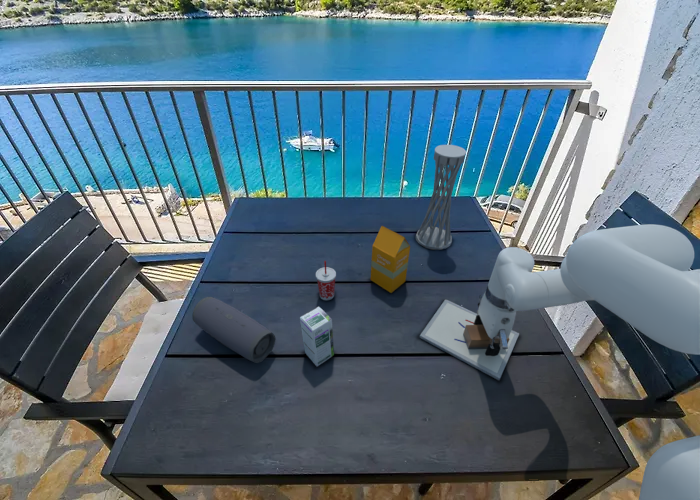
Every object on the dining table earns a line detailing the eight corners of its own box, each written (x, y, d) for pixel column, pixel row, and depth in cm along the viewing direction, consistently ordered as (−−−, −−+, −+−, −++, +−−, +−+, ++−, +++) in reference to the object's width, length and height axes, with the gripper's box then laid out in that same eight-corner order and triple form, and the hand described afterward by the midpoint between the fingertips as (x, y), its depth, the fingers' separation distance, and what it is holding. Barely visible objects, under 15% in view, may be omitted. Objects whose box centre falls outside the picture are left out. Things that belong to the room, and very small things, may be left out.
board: (518, 335, 97) (519, 333, 96) (498, 380, 86) (500, 378, 86) (444, 301, 107) (445, 299, 107) (419, 337, 96) (419, 335, 96)
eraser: (505, 348, 93) (509, 339, 90) (468, 349, 92) (471, 340, 90) (498, 333, 96) (502, 324, 94) (462, 334, 96) (465, 324, 94)
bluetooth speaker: (279, 347, 94) (274, 323, 88) (254, 373, 88) (247, 349, 82) (222, 312, 104) (214, 288, 97) (196, 333, 97) (185, 309, 91)
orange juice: (391, 293, 110) (396, 243, 97) (370, 280, 115) (372, 230, 102) (405, 281, 114) (413, 231, 102) (385, 268, 119) (389, 219, 107)
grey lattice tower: (449, 252, 126) (471, 161, 104) (413, 245, 129) (426, 156, 107) (453, 232, 136) (473, 145, 114) (418, 226, 139) (432, 140, 117)
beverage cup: (313, 298, 108) (310, 264, 99) (323, 285, 112) (320, 252, 104) (331, 304, 106) (329, 270, 97) (340, 291, 110) (339, 257, 102)
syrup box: (316, 367, 89) (313, 331, 80) (303, 352, 93) (299, 316, 84) (334, 355, 92) (332, 319, 83) (321, 341, 96) (318, 305, 86)
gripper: (534, 322, 76) (511, 367, 87) (504, 270, 90) (487, 314, 101) (500, 323, 76) (481, 368, 87) (475, 270, 90) (462, 315, 100)
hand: (484, 339), depth 94 cm, fingers open, 9 cm apart
